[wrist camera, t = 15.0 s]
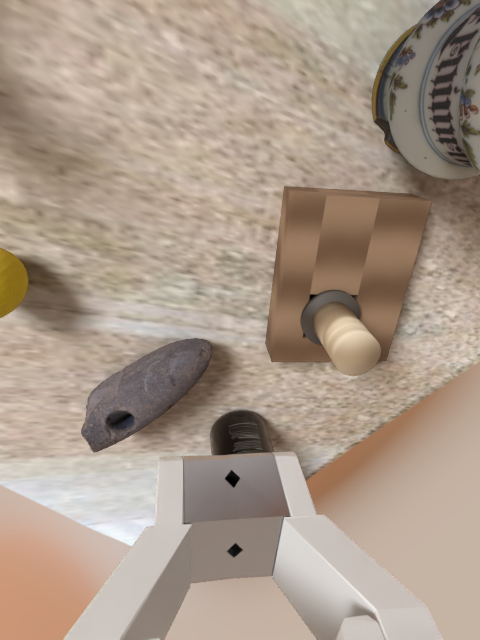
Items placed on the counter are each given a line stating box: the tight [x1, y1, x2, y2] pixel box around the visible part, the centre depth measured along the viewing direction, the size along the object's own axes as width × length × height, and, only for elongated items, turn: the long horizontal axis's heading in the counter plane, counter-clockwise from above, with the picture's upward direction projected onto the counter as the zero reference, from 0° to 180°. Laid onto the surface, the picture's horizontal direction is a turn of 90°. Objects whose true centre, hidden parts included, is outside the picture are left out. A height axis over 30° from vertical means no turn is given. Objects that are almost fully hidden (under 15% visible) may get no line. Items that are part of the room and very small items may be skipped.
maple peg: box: [300, 290, 381, 376], centre depth 36 cm, size 6×6×10 cm
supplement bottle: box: [210, 410, 274, 455], centre depth 42 cm, size 7×7×12 cm
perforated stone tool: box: [81, 338, 212, 452], centre depth 39 cm, size 15×5×7 cm, turn 121°
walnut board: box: [265, 186, 432, 362], centre depth 38 cm, size 16×12×4 cm
